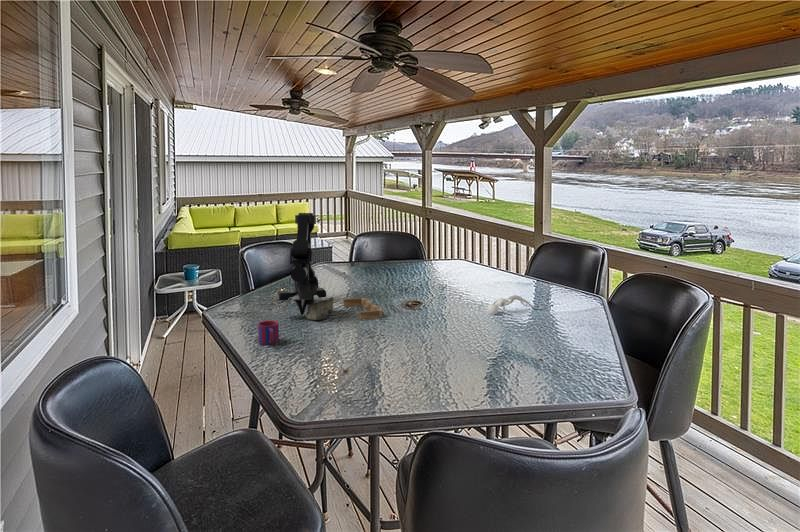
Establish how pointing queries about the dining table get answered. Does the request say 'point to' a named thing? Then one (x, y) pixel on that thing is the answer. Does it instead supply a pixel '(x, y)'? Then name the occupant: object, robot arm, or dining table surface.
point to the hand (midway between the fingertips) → (302, 315)
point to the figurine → (503, 302)
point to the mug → (268, 332)
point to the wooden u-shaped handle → (373, 309)
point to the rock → (319, 309)
